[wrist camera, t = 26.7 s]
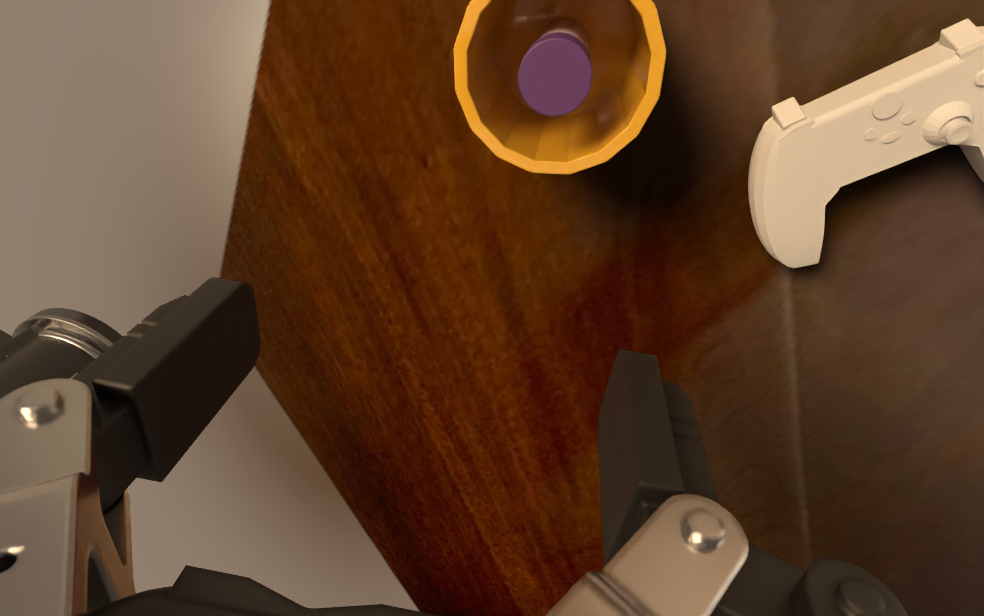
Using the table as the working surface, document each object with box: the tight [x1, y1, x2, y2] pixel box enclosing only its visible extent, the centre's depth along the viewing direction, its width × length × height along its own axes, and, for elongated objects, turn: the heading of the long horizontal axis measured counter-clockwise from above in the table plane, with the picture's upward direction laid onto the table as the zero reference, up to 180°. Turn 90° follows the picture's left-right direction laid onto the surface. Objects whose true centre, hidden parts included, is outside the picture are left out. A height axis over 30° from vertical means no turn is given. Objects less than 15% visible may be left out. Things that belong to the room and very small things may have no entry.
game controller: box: [748, 19, 984, 268], centre depth 30 cm, size 14×4×10 cm
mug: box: [454, 0, 666, 175], centre depth 26 cm, size 12×9×10 cm
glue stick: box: [518, 18, 592, 117], centre depth 26 cm, size 3×3×10 cm
